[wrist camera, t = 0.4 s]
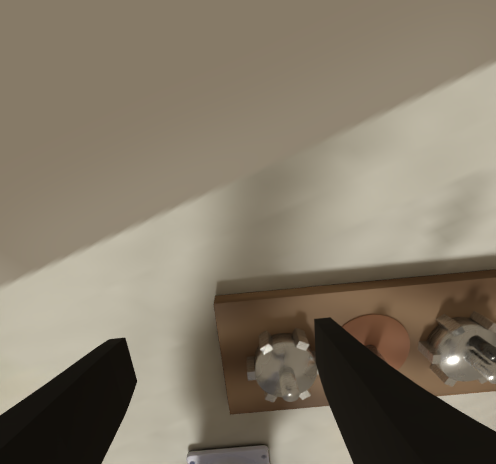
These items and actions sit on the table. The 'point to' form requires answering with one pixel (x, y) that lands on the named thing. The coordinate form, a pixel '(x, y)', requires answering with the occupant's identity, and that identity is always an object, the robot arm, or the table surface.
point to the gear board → (351, 327)
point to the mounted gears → (434, 349)
